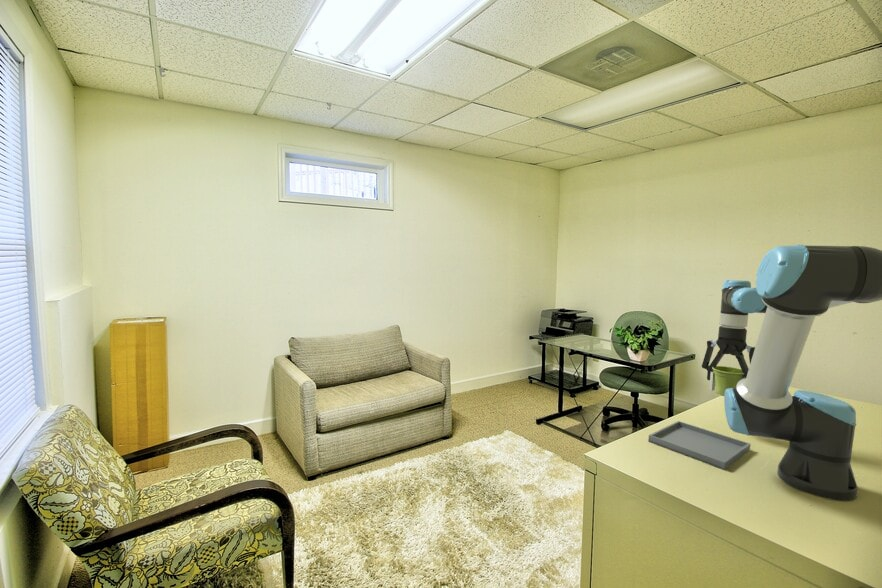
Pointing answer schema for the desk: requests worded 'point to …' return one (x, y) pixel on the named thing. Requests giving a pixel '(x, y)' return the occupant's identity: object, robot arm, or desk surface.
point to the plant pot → (726, 378)
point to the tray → (700, 444)
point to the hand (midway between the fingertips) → (726, 393)
